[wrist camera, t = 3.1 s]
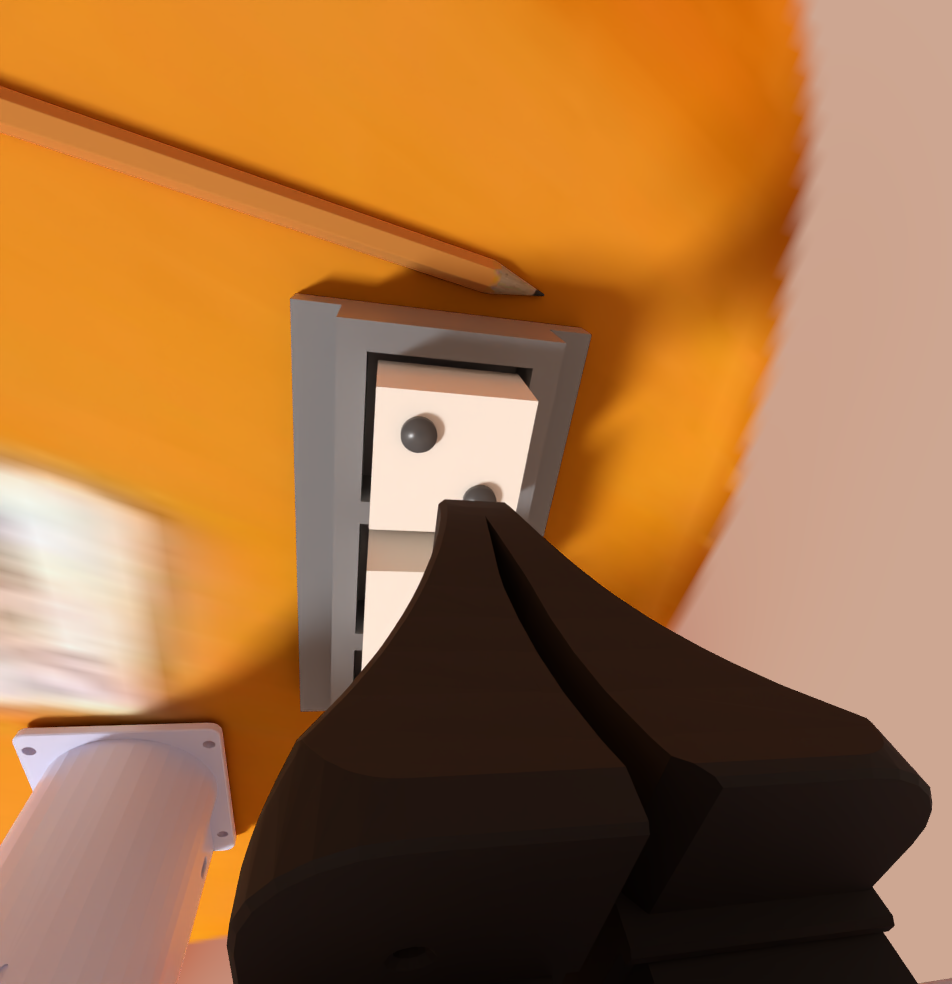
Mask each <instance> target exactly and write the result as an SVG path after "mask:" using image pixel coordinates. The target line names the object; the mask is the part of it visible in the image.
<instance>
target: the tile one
mask: <svg viewBox="0 0 952 984" xmlns="http://www.w3.org/2000/svg"><path fill="white" fill-rule="evenodd" d="M434 535H435V532H424V531H399V530H373V529H369V540H368V556H367V573H366V592H365V612H364V631H363V650H362V669H361V671H362V670H363V669H364V667H365V666H366V665H367V664H368V662H369V661H370V660H371V659H372V658H373V656H374V655H375V654H376V653H377V651H378V650H379V649H380V647H381V646H382V645H383V643H384V642H385V640H386V639H387V638H388V636H389V634H390V633H391V631H392V630H393V628H394V627H395V625H396V624H397V622H398V621H399V619H400V618H401V616H402V614H403V613H404V611H405V609H406V608H407V606H408V604H409V602H410V601H411V599H412V597H413V595H414V593H415V591H416V589H417V587H418V585H419V583H420V581H421V579H422V576H423V574H424V572H425V569H426V567H427V565H428V562H429V560H430V558H431V555H432V552H433V543H434Z"/></svg>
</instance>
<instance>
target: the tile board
mask: <svg viewBox="0 0 952 984" xmlns="http://www.w3.org/2000/svg"><path fill="white" fill-rule="evenodd" d="M290 309H291V349H292V389H293V429H294V469H295V509H296V549H297V589H298V629H299V669H300V709H301V712H302V711H326V710H327V709H328V708H329V707H330V706H331V705H332V704H333V703H334V702H335V701H336V700H337V699H338V698H339V697H340V696H341V695H342V694H343V692H344V691H345V690H346V689H347V688H348V687H349V686H350V684H351V683H352V682H353V681H354V680H355V678H356V677H357V676H358V675H359V673H360V672H361V669H362V650H363V631H364V612H365V592H366V573H367V556H368V540H369V515H370V496H371V477H372V457H373V438H374V419H375V399H376V382H377V368H378V360H384V361H394V362H404V363H414V364H424V365H434V366H444V367H454V368H464V369H474V370H483V371H493V372H503V373H513V374H518V375H519V376H520V377H521V379H522V380H523V381H524V383H525V384H526V385H527V387H528V388H529V389H530V391H531V392H532V393H533V395H534V396H535V397H536V399H537V400H538V406H537V411H536V416H535V421H534V426H533V430H532V435H531V440H530V445H529V450H528V455H527V460H526V465H525V470H524V475H523V480H522V484H521V489H520V494H519V499H518V504H517V509H516V512H517V513H518V514H519V515H520V516H521V517H522V518H523V519H524V520H525V521H526V522H527V523H528V524H529V525H531V526H532V527H533V528H534V529H535V530H536V531H537V532H538V533H539V534H540V535H541V536H542V537H543V536H544V532H545V528H546V524H547V520H548V515H549V511H550V507H551V503H552V499H553V494H554V490H555V486H556V482H557V478H558V473H559V469H560V465H561V461H562V457H563V453H564V448H565V444H566V440H567V436H568V432H569V427H570V423H571V419H572V415H573V411H574V406H575V402H576V398H577V394H578V390H579V385H580V381H581V377H582V373H583V369H584V364H585V360H586V356H587V352H588V348H589V343H590V339H591V335H592V334H590V333H589V332H587V331H585V330H584V329H582V328H579V327H570V326H562V325H554V324H546V323H537V322H529V321H521V320H513V319H504V318H496V317H488V316H480V315H471V314H463V313H455V312H447V311H438V310H430V309H422V308H414V307H405V306H397V305H389V304H381V303H372V302H364V301H356V300H348V299H339V298H331V297H323V296H315V295H307V294H298V293H295V294H294V295H293V296H292V297H291V298H290Z"/></svg>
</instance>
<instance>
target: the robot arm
mask: <svg viewBox="0 0 952 984" xmlns="http://www.w3.org/2000/svg"><path fill="white" fill-rule="evenodd" d="M12 741H13V745H14V747H15V750H16V752H17V755H18V757H19V759H20V762H21V764H22V766H23V769H24V771H25V774H26V776H27V778H28V781H29V783H30V786H31V788H32V790H33V792H32V794H31V796H30V797H29V799H28V801H27V802H26V804H25V806H24V807H23V809H22V811H21V812H20V814H19V815H18V817H17V819H16V820H15V822H14V824H13V825H12V827H11V829H10V830H9V832H8V834H7V835H6V837H5V839H4V840H3V842H2V844H1V845H0V984H177V982H178V978H179V974H180V971H181V968H182V964H183V960H184V957H185V953H186V949H187V945H188V942H189V938H190V934H191V931H192V927H193V923H194V920H195V916H196V912H197V909H198V905H199V901H200V898H201V894H202V890H203V886H204V883H205V879H206V875H207V872H208V868H209V864H210V861H211V857H212V853H213V851H221V850H229V849H231V848H232V847H234V845H235V841H236V831H235V824H234V816H233V808H232V801H231V793H230V785H229V778H228V770H227V763H226V755H225V747H224V740H223V732H222V728H221V727H220V726H219V725H218V724H215V723H178V724H144V725H110V726H76V727H42V728H25V729H21V730H19V731H18V733H17V734H16V735H15V737H14V738H13V740H12ZM931 811H932V799H931V791H930V787H929V786H928V784H927V783H926V782H925V781H924V780H923V779H922V778H921V777H920V776H919V775H918V773H917V772H916V771H915V770H914V769H913V768H912V767H911V766H910V764H909V763H908V762H907V761H906V760H905V759H904V758H903V757H902V756H901V755H900V753H899V752H898V751H897V750H896V749H895V748H894V747H893V746H892V744H891V743H890V742H889V741H888V740H887V739H886V738H885V737H884V736H883V735H882V733H881V732H880V731H879V730H878V729H877V728H876V727H875V726H874V725H873V724H872V723H871V722H870V721H869V720H868V719H867V718H865V717H862V716H860V715H857V714H854V713H852V712H849V711H847V710H844V709H842V708H839V707H836V706H834V705H831V704H828V703H826V702H824V701H821V700H818V699H816V698H813V697H811V696H808V695H806V694H803V693H800V692H798V691H795V690H792V689H790V688H788V687H785V686H783V685H780V684H778V683H776V682H773V681H771V680H769V679H767V678H765V677H762V676H760V675H758V674H756V673H753V672H751V671H749V670H747V669H745V668H743V667H740V666H738V665H736V664H733V663H731V662H730V661H728V660H726V659H724V658H722V657H720V656H718V655H715V654H714V653H712V652H709V651H708V650H706V649H704V648H702V647H699V646H698V645H696V644H694V643H692V642H691V641H689V640H687V639H685V638H683V637H682V636H680V635H678V634H676V633H674V632H673V631H671V630H669V629H667V628H665V627H664V626H662V625H660V624H659V623H657V622H655V621H654V620H652V619H650V618H649V617H647V616H646V615H644V614H642V613H641V612H639V611H638V610H636V609H635V608H633V607H632V606H630V605H629V604H627V603H626V602H624V601H623V600H621V599H620V598H618V597H617V596H615V595H614V594H612V593H611V592H610V591H608V590H607V589H605V588H604V587H603V586H601V585H600V584H599V583H597V582H596V581H595V580H594V579H592V578H591V577H590V576H588V575H587V574H586V573H585V572H583V571H582V570H581V569H579V568H578V567H577V566H576V565H575V564H573V563H572V562H571V561H570V560H569V559H567V558H566V557H565V556H564V555H563V554H562V553H560V552H559V551H558V550H557V549H556V548H555V547H554V546H552V545H551V544H550V543H549V542H548V541H547V540H546V539H545V538H544V537H542V536H541V535H540V534H539V533H538V532H537V531H536V530H535V529H534V528H533V527H532V526H531V525H529V524H528V523H527V522H526V521H525V520H524V519H523V518H522V517H521V516H520V515H519V514H518V513H517V512H515V511H514V510H513V509H512V508H511V507H510V506H509V505H507V504H506V503H505V502H489V501H470V500H451V499H444V500H443V501H442V502H440V503H439V504H438V511H437V519H436V527H435V535H434V543H433V552H432V555H431V558H430V560H429V562H428V565H427V567H426V569H425V572H424V574H423V576H422V579H421V581H420V583H419V585H418V587H417V589H416V591H415V593H414V595H413V597H412V599H411V601H410V602H409V604H408V606H407V608H406V609H405V611H404V613H403V614H402V616H401V618H400V619H399V621H398V622H397V624H396V625H395V627H394V628H393V630H392V631H391V633H390V634H389V636H388V638H387V639H386V640H385V642H384V643H383V645H382V646H381V647H380V649H379V650H378V651H377V653H376V654H375V655H374V656H373V658H372V659H371V660H370V661H369V662H368V664H367V665H366V666H365V667H364V669H363V670H362V671H361V672H360V673H359V675H358V676H357V677H356V678H355V680H354V681H353V682H352V683H351V684H350V686H349V687H348V688H347V689H346V690H345V691H344V692H343V694H342V695H341V696H340V697H339V698H338V699H337V700H336V701H335V702H334V703H333V704H332V705H331V706H330V707H329V708H328V709H327V710H326V711H325V712H324V713H323V714H322V715H321V716H320V717H319V718H318V719H317V720H316V721H315V722H314V723H313V724H312V725H311V726H310V727H309V728H308V729H307V730H306V731H305V732H304V733H303V734H302V735H301V736H300V737H299V738H298V739H297V741H296V743H295V744H294V746H293V748H292V750H291V752H290V754H289V756H288V758H287V760H286V762H285V764H284V766H283V768H282V770H281V772H280V773H279V775H278V777H277V779H276V781H275V784H274V786H273V788H272V790H271V792H270V794H269V796H268V798H267V801H266V803H265V805H264V807H263V809H262V812H261V814H260V817H259V819H258V821H257V824H256V826H255V829H254V831H253V834H252V837H251V840H250V842H249V845H248V848H247V852H246V855H245V858H244V861H243V864H242V867H241V871H240V876H239V880H238V885H237V890H236V894H235V899H234V904H233V909H232V913H231V918H230V923H229V931H228V939H227V950H228V955H229V961H230V966H231V973H232V978H233V984H952V978H950V979H944V980H937V981H931V982H924V983H917V982H916V980H915V979H914V977H913V976H912V974H911V973H910V971H909V970H908V968H907V967H906V965H905V964H904V962H903V961H902V960H901V958H900V957H899V955H898V953H897V952H896V951H895V949H894V948H893V946H892V945H891V943H890V942H889V940H888V939H887V937H886V936H885V935H884V933H883V932H886V931H889V930H890V929H891V928H893V927H894V920H893V916H892V914H891V913H890V912H889V910H888V908H887V907H886V906H885V904H884V903H883V901H882V900H881V899H880V897H879V896H878V894H877V893H876V891H875V890H874V889H873V885H874V884H875V883H876V882H877V881H878V880H879V879H880V878H881V877H882V876H883V875H884V874H885V873H886V872H887V871H888V870H889V868H890V867H891V866H892V865H893V864H894V863H895V862H896V861H897V860H898V859H899V858H900V857H901V856H902V854H903V853H905V851H906V850H907V849H908V848H909V847H910V846H911V845H912V844H913V843H914V841H915V840H916V839H917V837H918V836H919V835H920V834H921V832H922V831H923V830H924V828H925V827H926V825H927V822H928V819H929V817H930V813H931Z"/></svg>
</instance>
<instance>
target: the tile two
mask: <svg viewBox="0 0 952 984" xmlns="http://www.w3.org/2000/svg"><path fill="white" fill-rule="evenodd" d="M537 406H538V400H537V399H536V397H535V396H534V395H533V393H532V392H531V391H530V389H529V388H528V387H527V385H526V384H525V383H524V381H523V380H522V379H521V377H520V376H519V375H518V374H513V373H503V372H493V371H483V370H474V369H464V368H454V367H444V366H434V365H424V364H414V363H404V362H394V361H384V360H378V368H377V382H376V399H375V419H374V438H373V457H372V477H371V496H370V515H369V529H373V530H399V531H424V532H435V527H436V519H437V511H438V504H439V503H440V502H442V501H443V500H444V499H451V500H470V501H489V502H505V503H506V504H507V505H509V506H510V507H511V508H512V509H513V510H514V511H515V512H516V509H517V504H518V499H519V494H520V489H521V484H522V480H523V475H524V470H525V465H526V460H527V455H528V450H529V445H530V440H531V435H532V430H533V426H534V421H535V416H536V411H537Z"/></svg>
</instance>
